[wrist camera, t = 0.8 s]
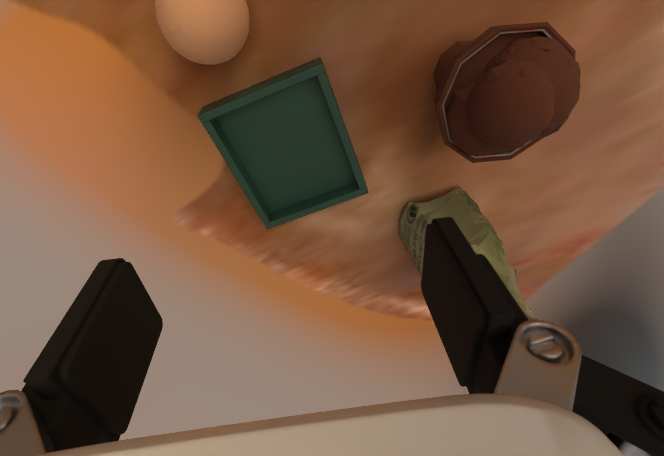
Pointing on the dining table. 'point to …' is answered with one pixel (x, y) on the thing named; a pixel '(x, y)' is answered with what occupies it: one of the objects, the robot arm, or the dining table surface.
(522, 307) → the pouch
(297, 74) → the tray
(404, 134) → the dining table surface
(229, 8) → the egg
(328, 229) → the dining table surface
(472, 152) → the ice cream bowl
